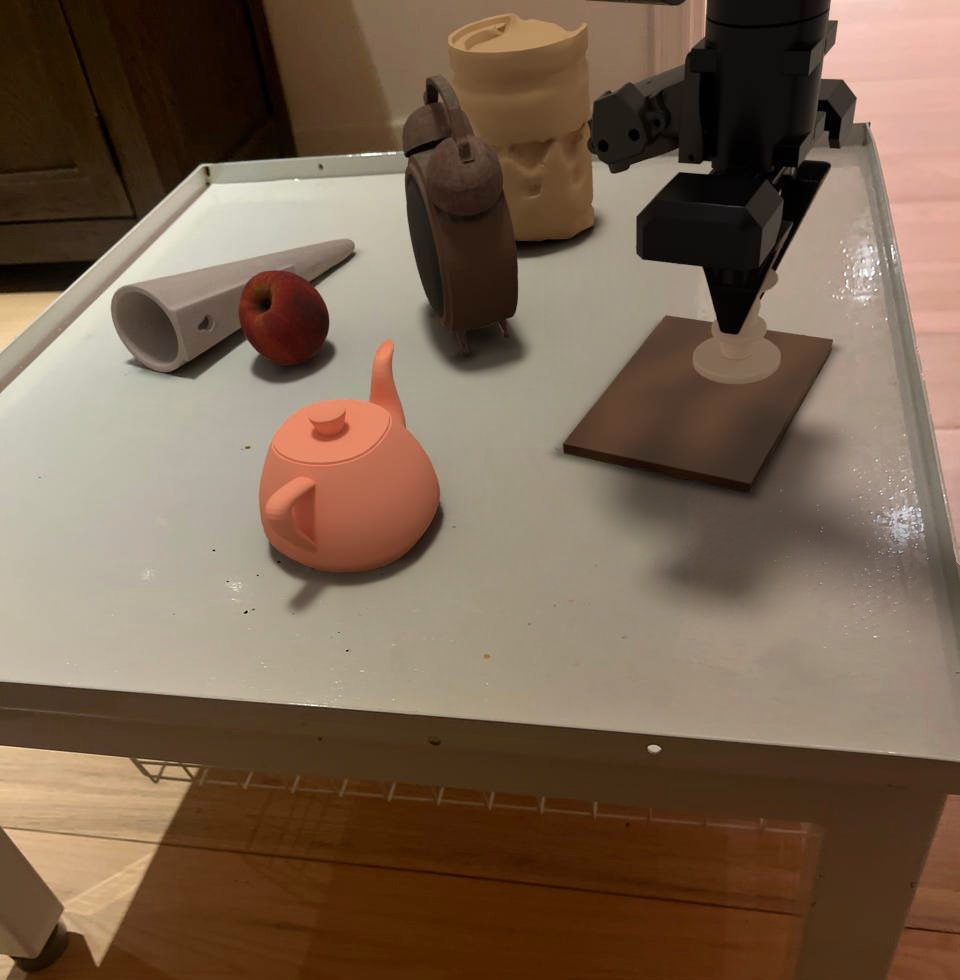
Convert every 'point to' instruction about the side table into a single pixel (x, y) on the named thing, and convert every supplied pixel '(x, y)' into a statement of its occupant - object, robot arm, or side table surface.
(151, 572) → the side table surface
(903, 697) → the side table surface
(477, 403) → the side table surface
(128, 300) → the planter
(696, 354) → the candle
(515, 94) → the container
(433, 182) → the alarm clock
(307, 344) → the apple
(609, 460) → the walnut board
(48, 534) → the side table surface
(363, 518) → the teapot
